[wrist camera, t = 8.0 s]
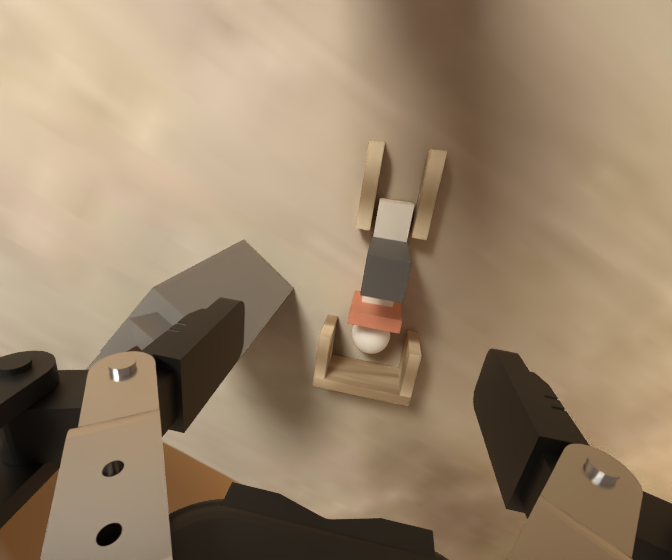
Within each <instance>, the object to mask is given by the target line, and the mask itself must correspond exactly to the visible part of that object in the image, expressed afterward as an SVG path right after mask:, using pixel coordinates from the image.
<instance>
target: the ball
mask: <svg viewBox="0 0 672 560" xmlns="http://www.w3.org/2000/svg"><path fill="white" fill-rule="evenodd" d="M352 339H353V342H354V344H355V346H356V347H357V348H358V349H359V350H361V351H362V352H365V353H369V354H374V353H378V352H380V351H382V350H383V349H384V348H385V347H386V346H387V345H388V342H389V340H390V332H389V331H383V330H378V329H373V328H368V327H363V326H358V325H354V326H353V329H352Z"/></svg>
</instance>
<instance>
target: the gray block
mask: <svg viewBox="0 0 672 560" xmlns="http://www.w3.org/2000/svg"><path fill="white" fill-rule="evenodd" d="M413 210H414V204H413V203H411V202H404V201H398V200H392V199H385V198H380V201H379V207H378V212H377V218H376V224H375V229H374V235H373V236H372V238H371V242H370V246H369V250H368V254H367V259H366V265H365V270H364V276H363V282H362V287H361V292H357V291H355V294H354V297H353V301H352V305H351V308H350V312H349V318H348V324H353V325H358V326H363V327H368V328H373V329H378V330H383V331H389V332H394V333H400V329H401V325H402V309H401V303H403V299H404V295H405V290H406V286H407V282H408V277H409V273H410V268H411V264H412V261H411V256H410V251H409V246H408V242H407V238H408V233H409V229H410V224H411V219H412V215H413Z"/></svg>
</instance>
